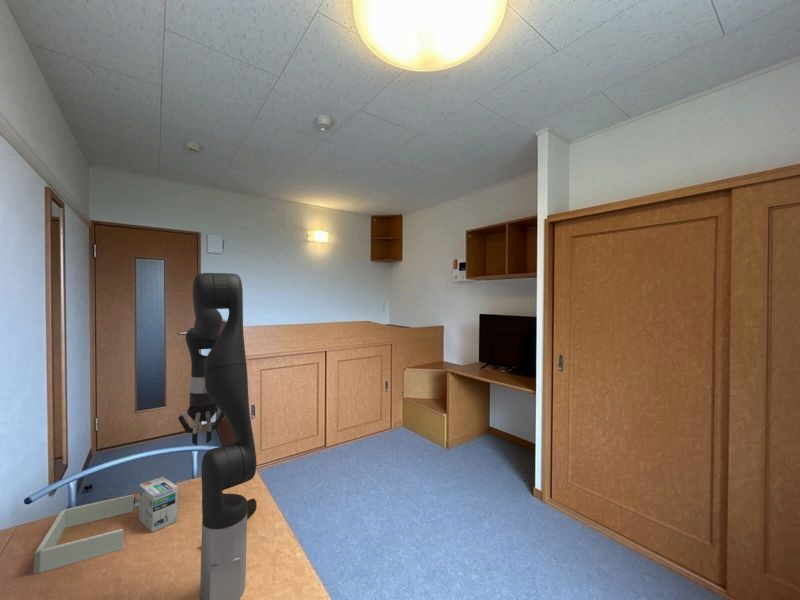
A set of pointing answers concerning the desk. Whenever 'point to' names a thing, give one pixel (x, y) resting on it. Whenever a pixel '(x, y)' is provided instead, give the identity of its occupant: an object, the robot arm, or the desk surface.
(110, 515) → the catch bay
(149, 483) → the light bulb box
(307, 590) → the desk surface
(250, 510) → the hand tool
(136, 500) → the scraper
